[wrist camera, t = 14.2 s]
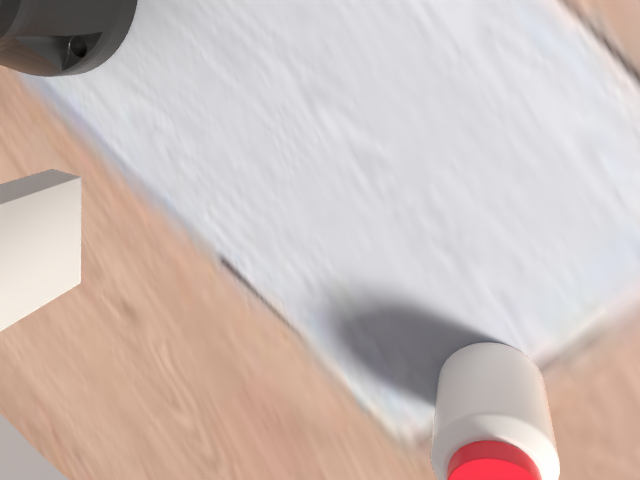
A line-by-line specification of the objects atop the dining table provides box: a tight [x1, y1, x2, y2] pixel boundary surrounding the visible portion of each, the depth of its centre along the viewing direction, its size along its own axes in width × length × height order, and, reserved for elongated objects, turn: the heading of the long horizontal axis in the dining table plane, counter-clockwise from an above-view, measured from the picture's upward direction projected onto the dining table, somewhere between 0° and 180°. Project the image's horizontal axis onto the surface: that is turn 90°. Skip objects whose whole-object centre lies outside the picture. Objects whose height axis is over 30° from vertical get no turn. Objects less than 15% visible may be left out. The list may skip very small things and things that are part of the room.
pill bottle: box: [430, 342, 560, 480], centre depth 36 cm, size 8×8×11 cm
